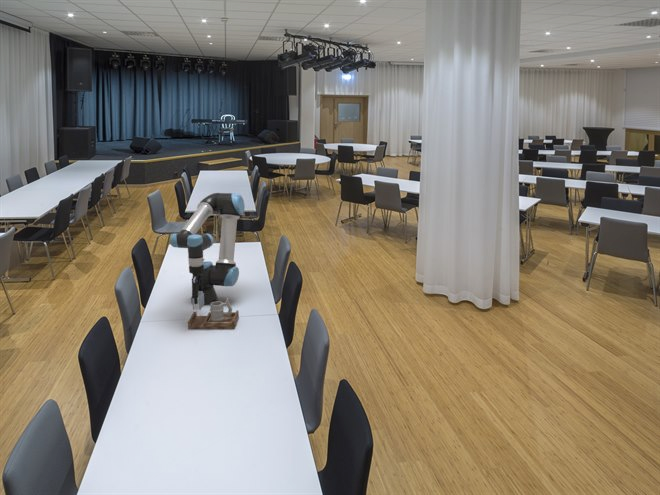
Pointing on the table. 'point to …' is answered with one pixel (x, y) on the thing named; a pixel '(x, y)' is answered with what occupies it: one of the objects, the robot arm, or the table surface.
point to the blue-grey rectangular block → (201, 300)
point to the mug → (219, 311)
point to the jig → (206, 323)
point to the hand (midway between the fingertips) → (198, 306)
